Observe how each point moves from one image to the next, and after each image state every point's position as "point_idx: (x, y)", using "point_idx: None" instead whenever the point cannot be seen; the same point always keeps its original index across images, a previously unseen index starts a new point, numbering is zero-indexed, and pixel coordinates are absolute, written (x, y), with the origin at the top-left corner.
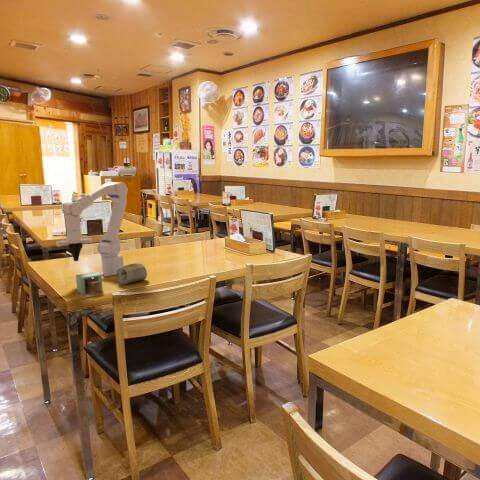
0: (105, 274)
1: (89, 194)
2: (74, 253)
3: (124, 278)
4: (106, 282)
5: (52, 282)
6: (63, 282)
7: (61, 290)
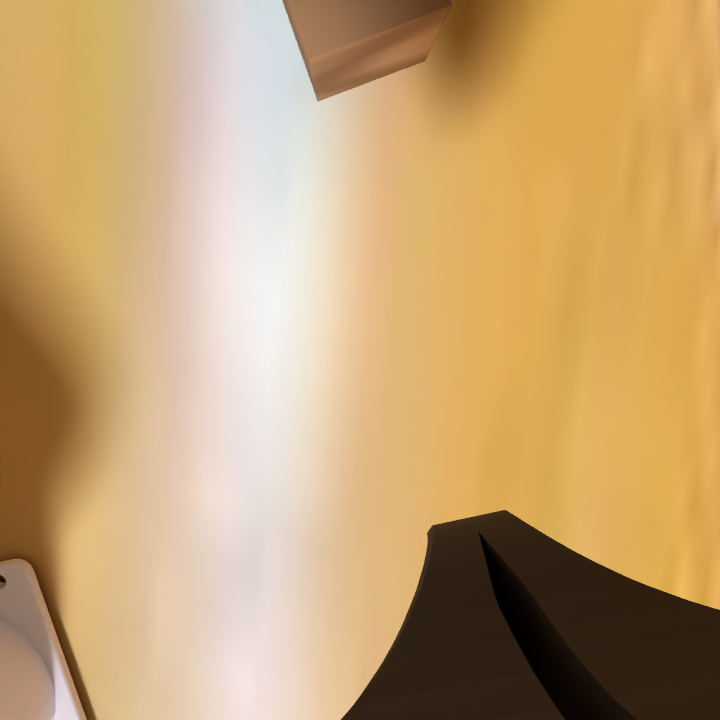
0: (15, 625)
1: None
2: (605, 591)
3: None
4: (24, 228)
5: (713, 565)
6: (587, 503)
7: (665, 69)
